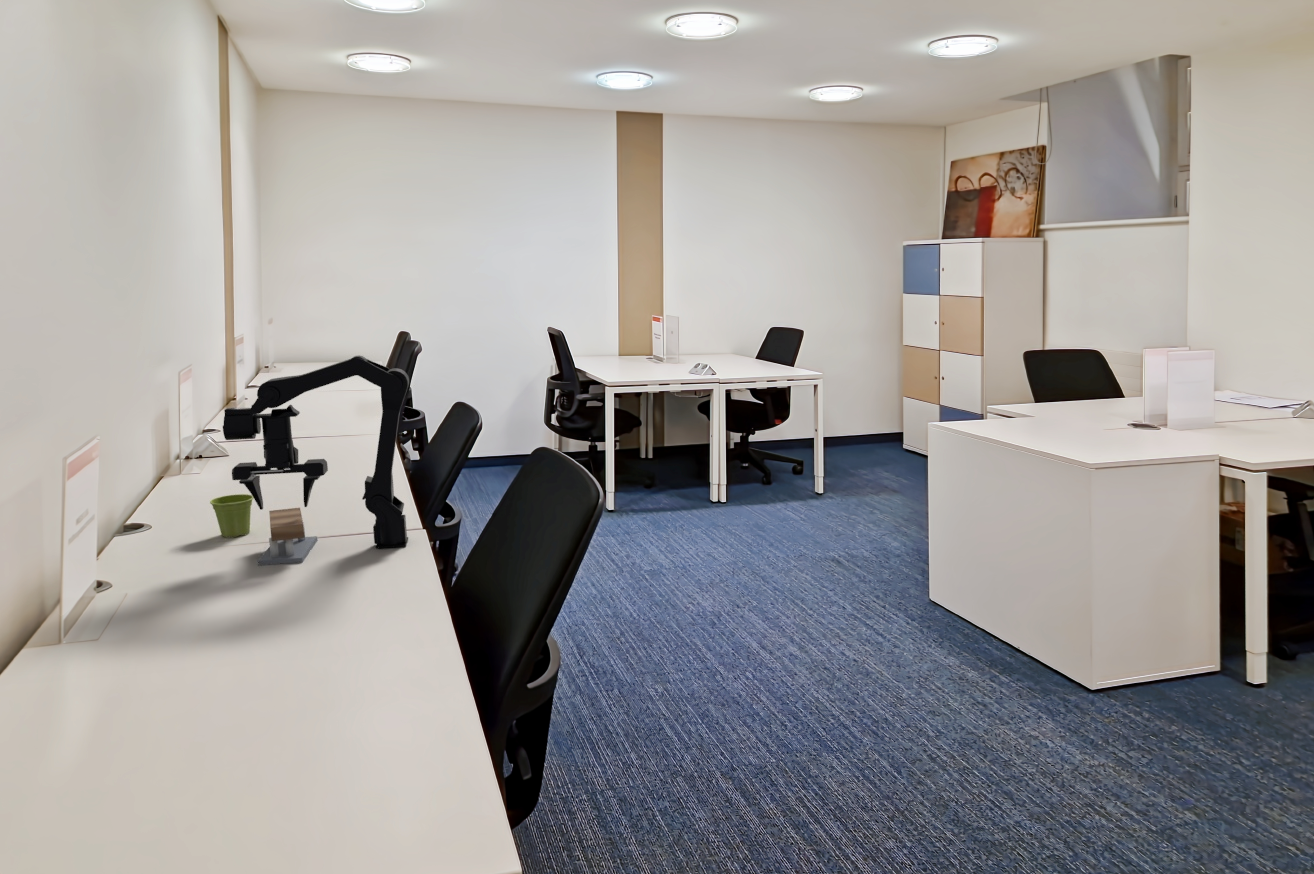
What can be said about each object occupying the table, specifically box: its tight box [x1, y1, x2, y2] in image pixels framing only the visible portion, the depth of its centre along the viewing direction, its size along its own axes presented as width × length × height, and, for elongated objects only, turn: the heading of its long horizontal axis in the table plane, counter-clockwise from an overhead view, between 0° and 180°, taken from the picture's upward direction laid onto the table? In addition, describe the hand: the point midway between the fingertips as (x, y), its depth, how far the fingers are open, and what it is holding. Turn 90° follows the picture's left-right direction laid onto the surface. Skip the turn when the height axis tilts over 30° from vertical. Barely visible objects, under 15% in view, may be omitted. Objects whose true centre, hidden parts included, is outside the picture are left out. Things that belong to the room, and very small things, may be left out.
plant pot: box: [209, 493, 254, 538], centre depth 224 cm, size 9×9×9 cm
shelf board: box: [269, 507, 306, 541], centre depth 207 cm, size 16×6×3 cm, turn 23°
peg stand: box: [257, 521, 318, 566], centre depth 208 cm, size 17×9×5 cm, turn 9°
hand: (284, 508), depth 207 cm, fingers open, 9 cm apart
